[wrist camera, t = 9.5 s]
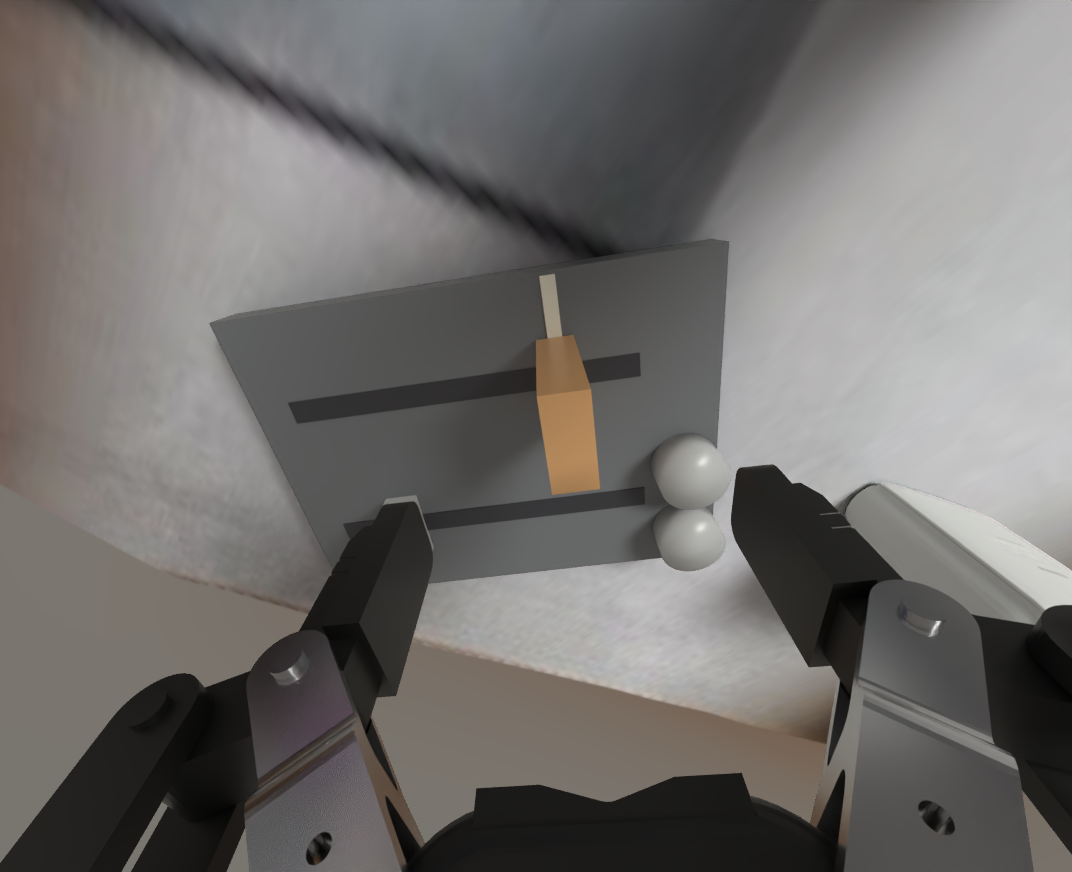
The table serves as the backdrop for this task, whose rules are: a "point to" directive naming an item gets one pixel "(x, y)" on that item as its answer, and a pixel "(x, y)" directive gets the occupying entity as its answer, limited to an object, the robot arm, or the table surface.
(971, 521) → the photo printer
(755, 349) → the table surface
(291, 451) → the console
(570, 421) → the fader cap
